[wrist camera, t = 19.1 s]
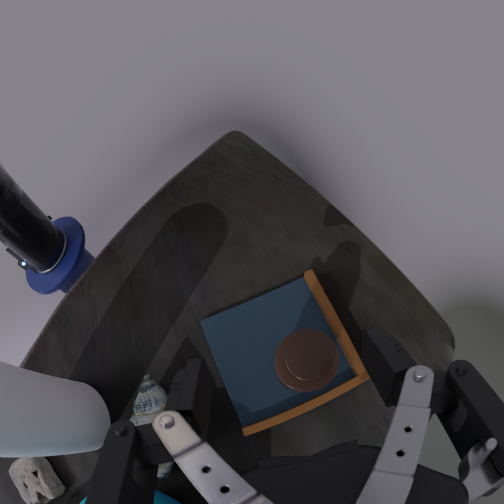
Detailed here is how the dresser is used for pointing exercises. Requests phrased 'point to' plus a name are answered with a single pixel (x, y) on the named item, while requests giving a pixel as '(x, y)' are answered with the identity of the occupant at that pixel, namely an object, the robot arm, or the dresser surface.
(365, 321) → the dresser surface
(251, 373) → the corner mat
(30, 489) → the stone
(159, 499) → the decorative orb
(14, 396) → the tall pillar cylinder
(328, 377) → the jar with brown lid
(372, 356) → the robot arm
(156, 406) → the seashell
